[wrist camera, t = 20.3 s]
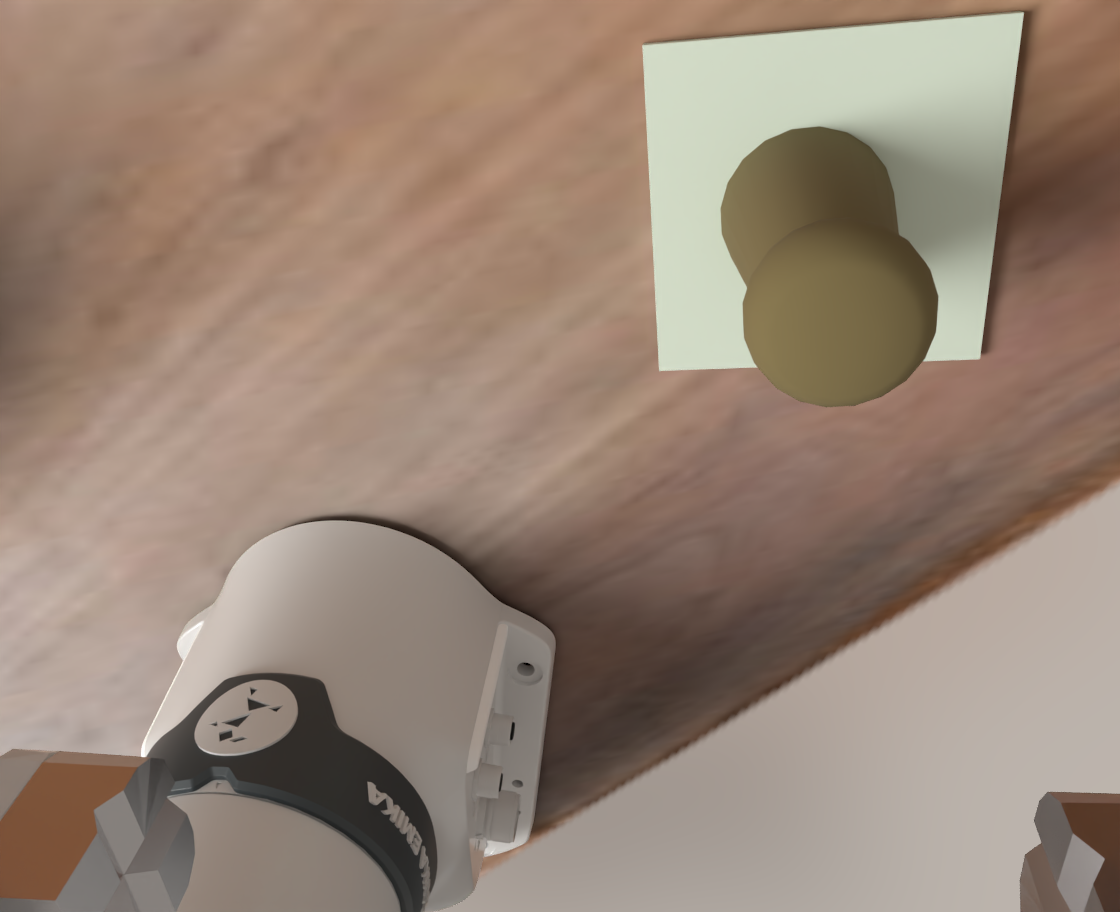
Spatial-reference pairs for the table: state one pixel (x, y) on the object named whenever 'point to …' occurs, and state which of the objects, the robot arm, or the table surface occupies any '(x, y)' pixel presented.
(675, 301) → the mat
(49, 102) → the table surface
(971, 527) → the table surface
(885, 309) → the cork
